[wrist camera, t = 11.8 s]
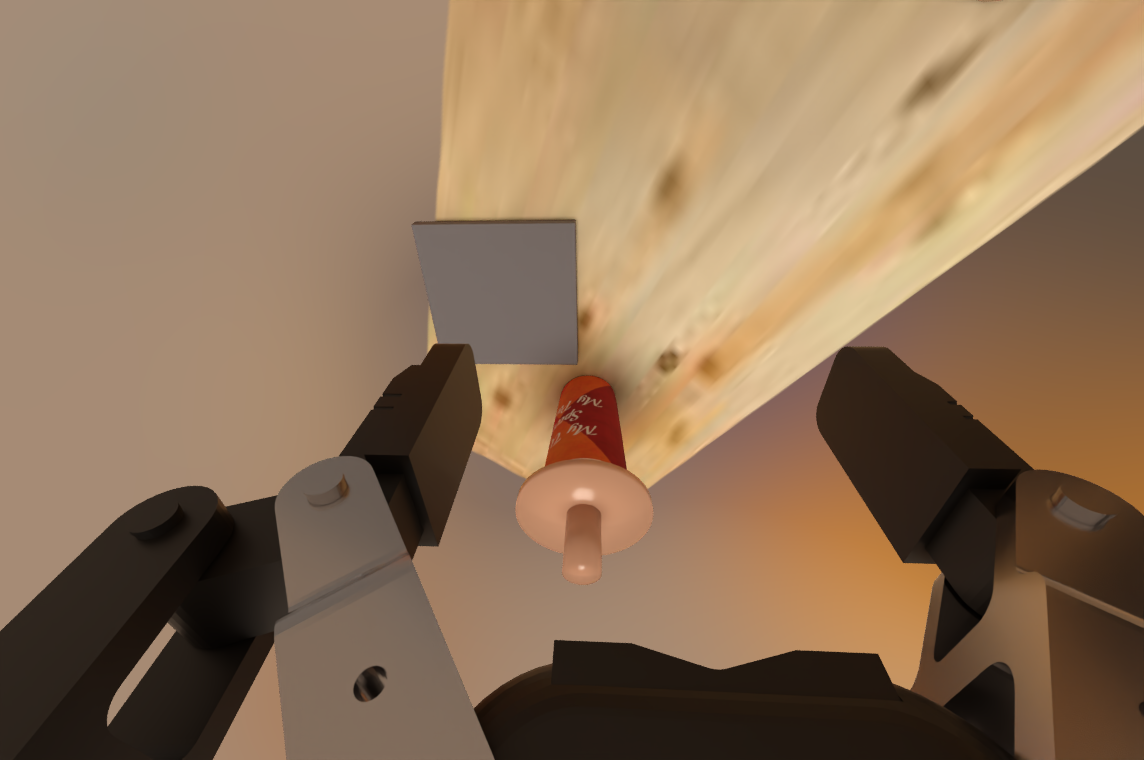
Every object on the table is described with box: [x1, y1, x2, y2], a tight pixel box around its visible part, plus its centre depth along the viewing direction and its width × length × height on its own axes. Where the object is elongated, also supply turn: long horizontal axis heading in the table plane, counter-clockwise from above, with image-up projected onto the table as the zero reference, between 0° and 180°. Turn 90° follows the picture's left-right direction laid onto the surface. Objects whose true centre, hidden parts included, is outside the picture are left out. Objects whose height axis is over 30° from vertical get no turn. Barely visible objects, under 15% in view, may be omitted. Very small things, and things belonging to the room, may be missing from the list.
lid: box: [516, 459, 653, 585], centre depth 33 cm, size 11×11×6 cm
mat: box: [412, 220, 578, 365], centre depth 41 cm, size 14×14×1 cm
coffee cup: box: [545, 376, 627, 470], centre depth 42 cm, size 8×8×15 cm
